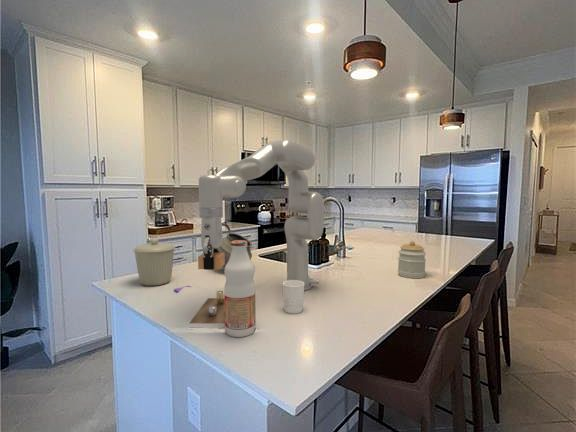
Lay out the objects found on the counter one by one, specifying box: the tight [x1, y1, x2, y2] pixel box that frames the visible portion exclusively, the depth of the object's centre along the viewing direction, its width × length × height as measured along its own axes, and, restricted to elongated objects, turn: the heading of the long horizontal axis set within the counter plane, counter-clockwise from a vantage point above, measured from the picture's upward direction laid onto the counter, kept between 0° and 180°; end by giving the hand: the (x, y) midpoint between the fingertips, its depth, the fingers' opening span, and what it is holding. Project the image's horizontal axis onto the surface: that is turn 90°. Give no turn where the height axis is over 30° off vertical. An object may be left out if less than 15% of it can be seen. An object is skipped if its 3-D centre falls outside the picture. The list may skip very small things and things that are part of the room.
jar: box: [397, 240, 427, 279], centre depth 161 cm, size 13×13×18 cm
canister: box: [132, 237, 176, 287], centre depth 148 cm, size 18×18×21 cm
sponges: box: [173, 284, 192, 294], centre depth 135 cm, size 7×13×2 cm, turn 46°
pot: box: [219, 222, 253, 268], centre depth 171 cm, size 21×21×25 cm
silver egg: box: [209, 306, 217, 317], centre depth 107 cm, size 2×2×3 cm
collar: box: [197, 253, 225, 270], centre depth 106 cm, size 7×7×4 cm
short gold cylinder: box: [216, 290, 224, 305], centre depth 117 cm, size 2×2×4 cm
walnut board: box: [189, 297, 225, 329], centre depth 112 cm, size 12×23×2 cm, turn 179°
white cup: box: [282, 280, 305, 314], centre depth 115 cm, size 8×8×10 cm
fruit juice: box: [223, 240, 257, 338], centre depth 98 cm, size 9×9×28 cm
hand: (211, 266), depth 106 cm, fingers closed on collar, 7 cm apart
